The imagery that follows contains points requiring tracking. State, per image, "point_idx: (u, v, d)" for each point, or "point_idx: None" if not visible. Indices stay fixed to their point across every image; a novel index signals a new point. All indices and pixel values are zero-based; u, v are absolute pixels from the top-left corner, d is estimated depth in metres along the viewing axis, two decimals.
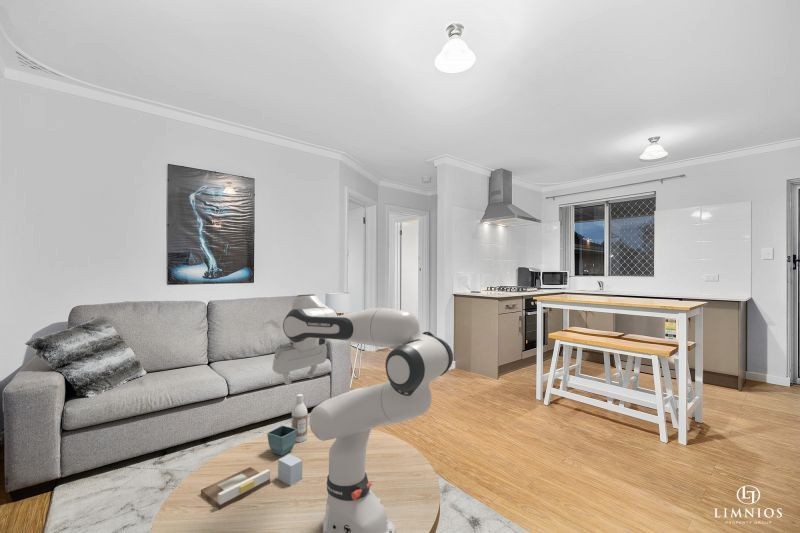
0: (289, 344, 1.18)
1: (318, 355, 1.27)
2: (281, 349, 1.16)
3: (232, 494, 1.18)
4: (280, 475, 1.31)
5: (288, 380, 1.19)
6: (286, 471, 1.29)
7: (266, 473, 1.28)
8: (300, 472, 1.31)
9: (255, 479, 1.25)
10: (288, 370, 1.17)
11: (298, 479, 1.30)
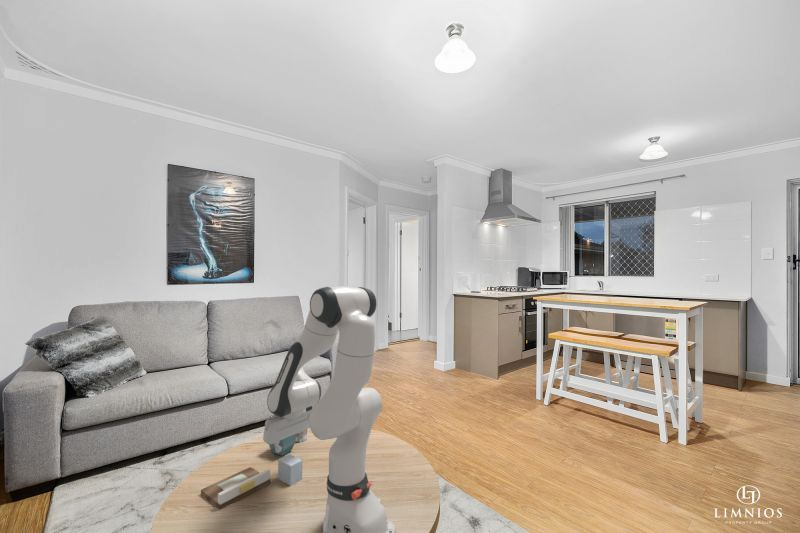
0: None
1: (306, 420, 1.36)
2: (270, 421, 1.25)
3: (232, 494, 1.18)
4: (280, 475, 1.31)
5: (278, 448, 1.28)
6: (286, 471, 1.29)
7: (266, 473, 1.28)
8: (300, 472, 1.31)
9: (255, 479, 1.25)
10: (278, 440, 1.26)
11: (298, 479, 1.30)
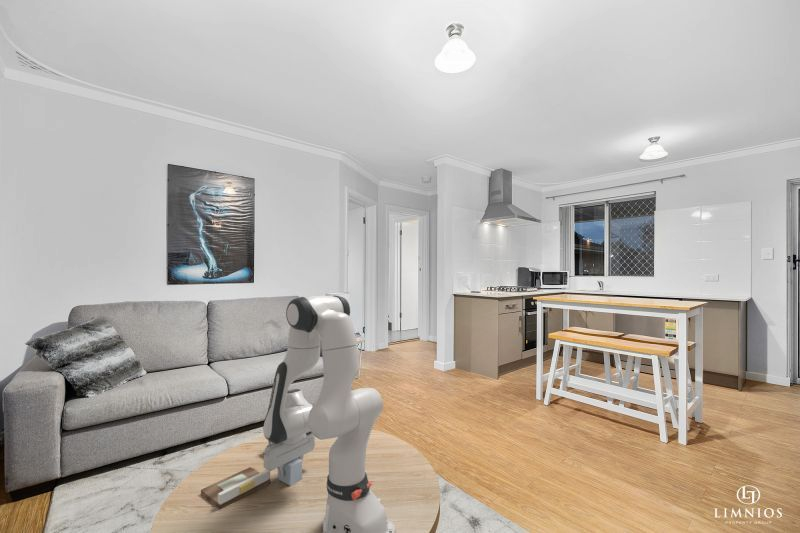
0: None
1: (306, 444, 1.36)
2: (270, 447, 1.25)
3: (232, 494, 1.18)
4: None
5: (282, 473, 1.28)
6: (286, 471, 1.29)
7: (266, 473, 1.28)
8: (300, 472, 1.31)
9: (255, 479, 1.25)
10: (278, 466, 1.26)
11: (298, 479, 1.30)
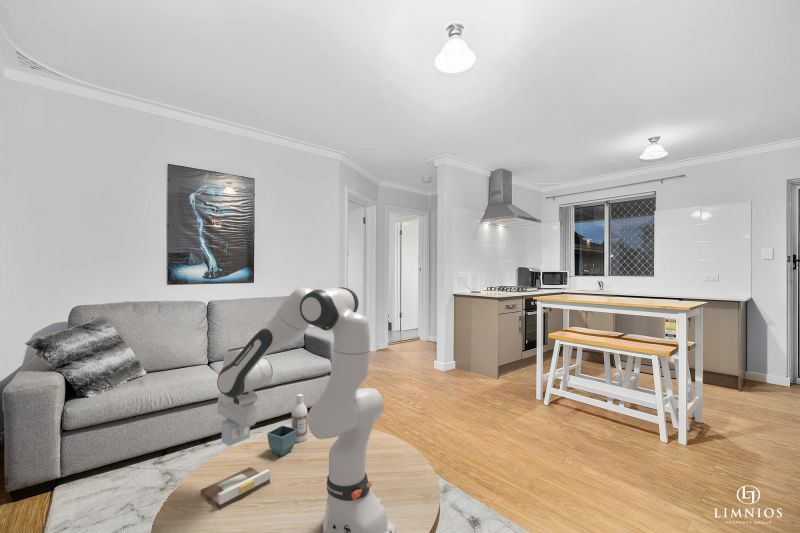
0: None
1: (240, 415, 1.22)
2: None
3: (232, 494, 1.18)
4: None
5: None
6: None
7: (266, 473, 1.28)
8: (227, 436, 1.23)
9: (255, 479, 1.25)
10: (222, 414, 1.29)
11: (226, 442, 1.23)
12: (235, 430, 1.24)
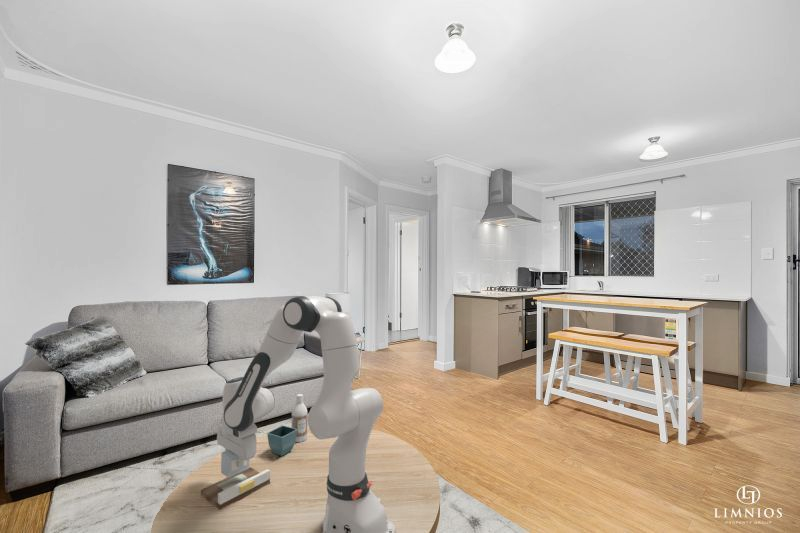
0: None
1: (240, 447, 1.22)
2: None
3: (232, 494, 1.18)
4: None
5: None
6: None
7: (266, 473, 1.28)
8: (227, 468, 1.23)
9: (255, 479, 1.25)
10: (221, 444, 1.29)
11: (226, 473, 1.23)
12: (235, 462, 1.24)
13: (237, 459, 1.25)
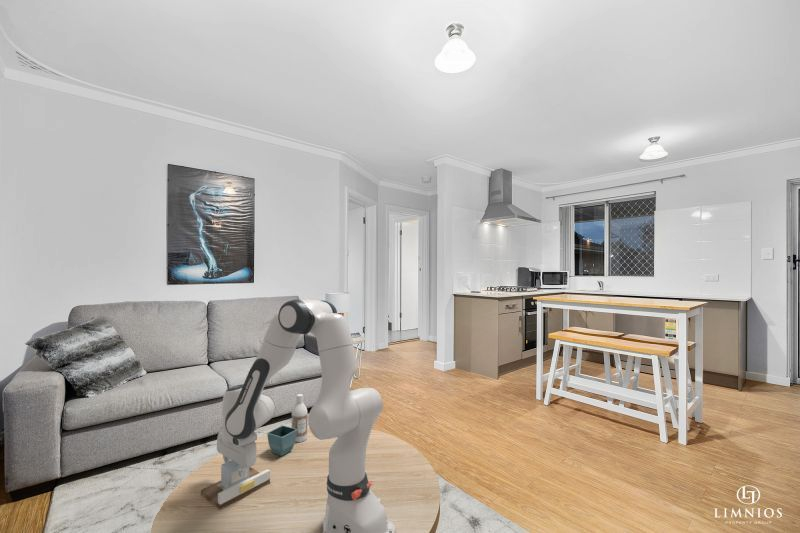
0: None
1: (240, 455, 1.21)
2: (222, 430, 1.31)
3: (232, 494, 1.18)
4: None
5: None
6: None
7: (266, 473, 1.28)
8: (227, 480, 1.22)
9: (255, 479, 1.25)
10: (221, 453, 1.29)
11: (226, 486, 1.23)
12: (235, 474, 1.24)
13: (237, 471, 1.24)
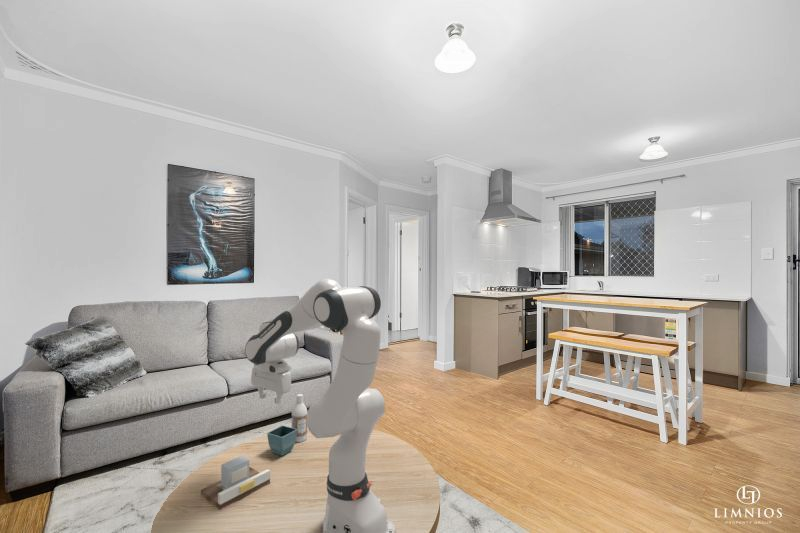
0: None
1: (276, 383, 1.31)
2: (256, 364, 1.41)
3: (232, 494, 1.18)
4: None
5: (260, 394, 1.38)
6: None
7: (266, 473, 1.28)
8: (227, 480, 1.22)
9: (255, 479, 1.25)
10: (256, 384, 1.38)
11: (226, 486, 1.23)
12: (235, 474, 1.24)
13: (237, 471, 1.24)
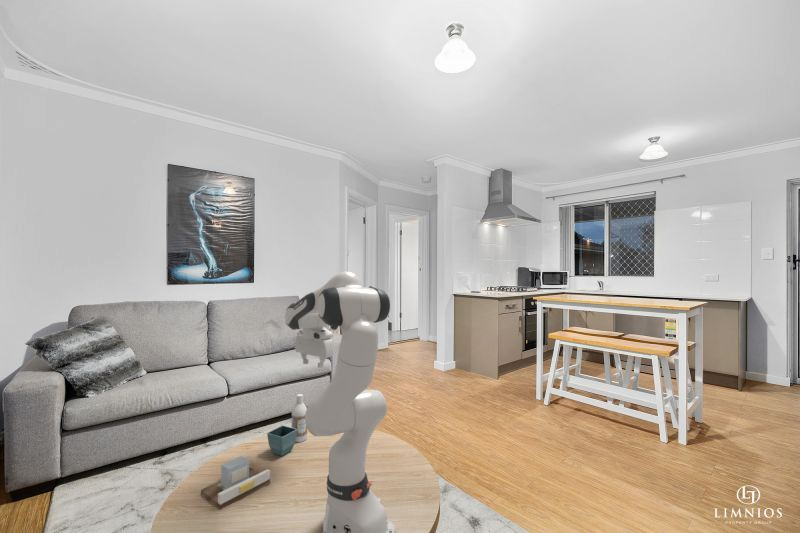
0: None
1: (319, 348, 1.45)
2: (299, 333, 1.54)
3: (232, 494, 1.18)
4: None
5: (303, 360, 1.52)
6: None
7: (266, 473, 1.28)
8: (227, 480, 1.22)
9: (255, 479, 1.25)
10: (300, 351, 1.52)
11: (226, 486, 1.23)
12: (235, 474, 1.24)
13: (237, 471, 1.24)
